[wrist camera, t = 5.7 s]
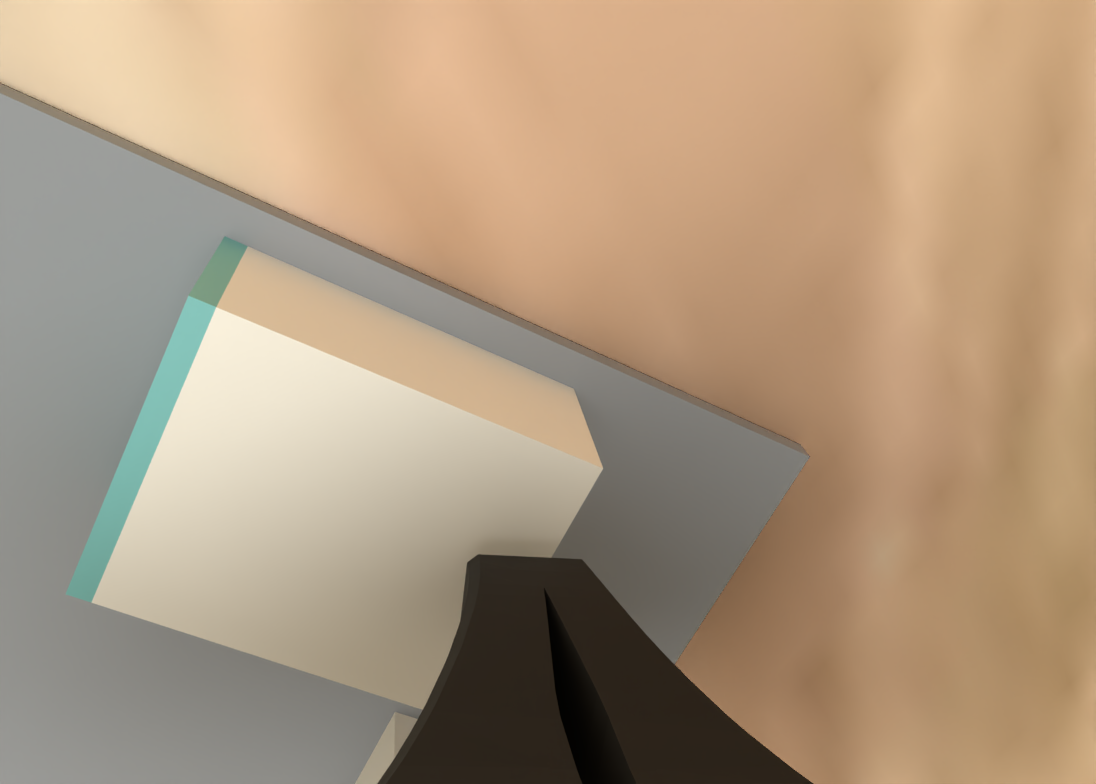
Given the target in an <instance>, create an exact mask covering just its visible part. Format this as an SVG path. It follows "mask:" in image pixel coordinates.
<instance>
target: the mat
mask: <svg viewBox="0 0 1096 784" xmlns="http://www.w3.org/2000/svg"><path fill="white" fill-rule="evenodd" d="M224 237H228V238H230V239H232V240H235V241H237V242H239V243H241V244H244V245H246V246H248V247H251V248H253V249H255V250H257V251H260V252H262V253H264V254H267V255H269V256H271V257H273V258H276V259H278V260H280V261H283V262H285V263H287V264H290V265H292V266H294V267H296V268H299V269H301V270H303V271H306V272H308V273H310V274H312V275H315V276H317V277H319V278H322V279H324V280H326V281H328V282H331V283H333V284H335V285H338V286H340V287H342V288H344V289H347V290H349V291H351V292H354V293H356V294H358V295H360V296H363V297H365V298H367V299H370V300H372V301H374V302H376V303H379V304H381V305H383V306H386V307H388V308H390V309H392V310H395V311H397V312H399V313H402V314H404V315H406V316H408V317H411V318H413V319H415V320H418V321H420V322H422V323H424V324H427V325H429V326H431V327H434V328H436V329H438V330H440V331H443V332H445V333H447V334H450V335H452V336H454V337H456V338H459V339H461V340H463V341H466V342H468V343H470V344H472V345H475V346H477V347H479V348H482V349H484V350H486V351H488V352H491V353H493V354H495V355H498V356H500V357H502V358H504V359H507V360H509V361H511V362H514V363H516V364H518V365H520V366H523V367H525V368H527V369H530V370H532V371H534V372H536V373H539V374H541V375H543V376H546V377H548V378H550V379H552V380H555V381H557V382H559V383H562V384H564V385H566V386H568V387H571V388H573V389H574V391H575V394H576V396H577V399H578V402H579V404H580V407H581V410H582V412H583V415H584V418H585V421H586V423H587V426H588V429H589V431H590V434H591V437H592V440H593V442H594V445H595V448H596V450H597V453H598V456H599V458H600V461H601V464H602V467H603V470H602V471H601V473H600V475H599V476H598V478H597V480H596V482H595V483H594V485H593V487H592V489H591V490H590V492H589V494H588V495H587V497H586V499H585V501H584V502H583V504H582V506H581V507H580V509H579V511H578V513H577V514H576V516H575V518H574V519H573V521H572V523H571V525H570V526H569V528H568V530H567V531H566V533H565V535H564V537H563V538H562V540H561V542H560V544H559V545H558V547H557V549H556V550H555V552H554V554H553V556H552V557H551V558H570V559H582V560H583V561H584V562H585V563H586V564H587V566H588V567H589V568H590V569H591V570H592V571H593V573H594V574H595V575H596V576H597V577H598V579H599V580H600V581H601V582H602V583H603V584H604V586H605V587H606V588H607V589H608V590H609V592H610V593H611V594H612V595H613V596H614V598H615V599H616V600H617V601H618V602H619V603H620V605H621V606H622V607H623V608H624V609H625V610H626V612H627V613H628V614H629V615H630V616H631V617H632V619H633V620H634V621H635V622H636V623H637V624H638V626H639V627H640V628H641V629H642V630H643V631H644V632H645V634H646V635H647V636H648V637H649V638H650V639H651V640H652V641H653V642H654V643H655V644H656V646H657V647H658V648H659V649H660V650H661V651H662V652H663V653H664V654H665V655H666V656H667V657H668V658H669V659H670V660H671V662H672V663H673V664H674V665H675V663H676V661H677V660H678V658H679V657H680V655H681V654H682V652H683V651H684V649H685V648H686V646H687V645H688V643H689V642H690V640H691V638H692V637H693V635H694V634H695V632H696V631H697V629H698V628H699V626H700V625H701V623H702V622H703V620H704V618H705V617H706V615H707V614H708V612H709V611H710V609H711V608H712V606H713V605H714V603H715V602H716V600H717V599H718V597H719V595H720V594H721V592H722V591H723V589H724V588H725V586H726V585H727V583H728V582H729V580H730V579H731V577H732V576H733V574H734V572H735V571H736V569H737V568H738V566H739V565H740V563H741V562H742V560H743V559H744V557H745V556H746V554H747V552H748V551H749V549H750V548H751V546H752V545H753V543H754V542H755V540H756V539H757V537H758V536H759V534H760V533H761V531H762V529H763V528H764V526H765V525H766V523H767V522H768V520H769V519H770V517H771V516H772V514H773V513H774V511H775V510H776V508H777V506H778V505H779V503H780V502H781V500H782V499H783V497H784V496H785V494H786V493H787V491H788V490H789V488H790V486H791V485H792V483H793V482H794V480H795V479H796V477H797V476H798V474H799V473H800V471H801V470H802V468H803V467H804V465H805V463H806V462H807V460H808V459H809V457H810V456H809V455H808V454H807V452H806V451H805V450H804V448H803V447H802V446H801V445H800V444H798V443H796V442H793V441H791V440H789V439H787V438H785V437H782V436H780V435H778V434H776V433H773V432H771V431H769V430H767V429H765V428H762V427H760V426H758V425H756V424H754V423H751V422H749V421H747V420H745V419H742V418H740V417H738V416H736V415H734V414H731V413H729V412H727V411H725V410H723V409H720V408H718V407H716V406H714V405H711V404H709V403H707V402H705V401H703V400H700V399H698V398H696V397H694V396H692V395H689V394H687V393H685V392H683V391H680V390H678V389H676V388H674V387H672V386H669V385H667V384H665V383H663V382H661V381H658V380H656V379H654V378H652V377H649V376H647V375H645V374H643V373H641V372H638V371H636V370H634V369H632V368H630V367H627V366H625V365H623V364H621V363H618V362H616V361H614V360H612V359H610V358H607V357H605V356H603V355H601V354H599V353H596V352H594V351H592V350H590V349H587V348H585V347H583V346H581V345H579V344H576V343H574V342H572V341H570V340H568V339H565V338H563V337H561V336H559V335H556V334H554V333H552V332H550V331H548V330H545V329H543V328H541V327H539V326H537V325H534V324H532V323H530V322H528V321H525V320H523V319H521V318H519V317H517V316H514V315H512V314H510V313H508V312H506V311H503V310H501V309H499V308H497V307H494V306H492V305H490V304H488V303H486V302H483V301H481V300H479V299H477V298H475V297H472V296H470V295H468V294H466V293H463V292H461V291H459V290H457V289H455V288H452V287H450V286H448V285H446V284H444V283H441V282H439V281H437V280H435V279H432V278H430V277H428V276H426V275H424V274H421V273H419V272H417V271H415V270H413V269H410V268H408V267H406V266H404V265H401V264H399V263H397V262H395V261H393V260H390V259H388V258H386V257H384V256H381V255H379V254H377V253H375V252H373V251H370V250H368V249H366V248H364V247H362V246H359V245H357V244H355V243H353V242H350V241H348V240H346V239H344V238H342V237H339V236H337V235H335V234H333V233H331V232H328V231H326V230H324V229H322V228H319V227H317V226H315V225H313V224H311V223H308V222H306V221H304V220H302V219H300V218H297V217H295V216H293V215H291V214H288V213H286V212H284V211H282V210H280V209H277V208H275V207H273V206H271V205H269V204H266V203H264V202H262V201H260V200H257V199H255V198H253V197H251V196H249V195H246V194H244V193H242V192H240V191H238V190H235V189H233V188H231V187H229V186H226V185H224V184H222V183H220V182H218V181H215V180H213V179H211V178H209V177H207V176H204V175H202V174H200V173H198V172H195V171H193V170H191V169H189V168H187V167H184V166H182V165H180V164H178V163H176V162H173V161H171V160H169V159H167V158H164V157H162V156H160V155H158V154H156V153H153V152H151V151H149V150H147V149H145V148H142V147H140V146H138V145H136V144H133V143H131V142H129V141H127V140H125V139H122V138H120V137H118V136H116V135H114V134H111V133H109V132H107V131H105V130H102V129H100V128H98V127H96V126H94V125H91V124H89V123H87V122H85V121H83V120H80V119H78V118H76V117H74V116H71V115H69V114H67V113H65V112H63V111H60V110H58V109H56V108H54V107H52V106H49V105H47V104H45V103H43V102H40V101H38V100H36V99H34V98H32V97H29V96H27V95H25V94H23V93H21V92H18V91H16V90H14V89H12V88H9V87H7V86H5V85H3V84H1V83H0V784H355V783H356V781H357V779H358V777H359V776H360V774H361V772H362V770H363V768H364V767H365V765H366V763H367V761H368V759H369V758H370V756H371V754H372V752H373V750H374V749H375V747H376V745H377V743H378V741H379V740H380V738H381V736H382V734H383V732H384V731H385V729H386V727H387V725H388V723H389V722H390V720H391V718H392V716H393V714H394V713H395V712H397V713H400V714H403V715H407V716H410V717H413V718H416V719H418V718H419V716H420V714H421V712H422V709H418V708H415V707H412V706H409V705H406V704H403V703H400V702H397V701H394V700H391V699H388V698H384V697H381V696H378V695H375V694H372V693H369V692H366V691H363V690H360V689H357V688H354V687H350V686H347V685H344V684H341V683H338V682H335V681H332V680H329V679H326V678H323V677H320V676H316V675H313V674H310V673H307V672H304V671H301V670H298V669H295V668H292V667H289V666H286V665H282V664H279V663H276V662H273V661H270V660H267V659H264V658H261V657H258V656H255V655H252V654H248V653H245V652H242V651H239V650H236V649H233V648H230V647H227V646H224V645H221V644H218V643H214V642H211V641H208V640H205V639H202V638H199V637H196V636H193V635H190V634H187V633H184V632H180V631H177V630H174V629H171V628H168V627H165V626H162V625H159V624H156V623H153V622H150V621H146V620H143V619H140V618H137V617H134V616H131V615H128V614H125V613H122V612H119V611H116V610H112V609H109V608H106V607H103V606H100V605H97V604H94V603H91V602H88V601H85V600H82V599H78V598H75V597H72V596H69V595H66V592H67V589H68V587H69V584H70V582H71V579H72V577H73V575H74V572H75V570H76V567H77V565H78V562H79V560H80V558H81V555H82V553H83V550H84V548H85V545H86V543H87V541H88V538H89V536H90V533H91V531H92V528H93V526H94V524H95V521H96V519H97V516H98V514H99V511H100V509H101V507H102V504H103V502H104V499H105V497H106V494H107V492H108V490H109V487H110V485H111V482H112V480H113V477H114V475H115V473H116V470H117V468H118V465H119V463H120V460H121V458H122V456H123V453H124V451H125V448H126V446H127V443H128V441H129V439H130V436H131V434H132V431H133V429H134V426H135V424H136V422H137V419H138V417H139V414H140V412H141V409H142V407H143V405H144V402H145V400H146V397H147V395H148V392H149V390H150V388H151V385H152V383H153V380H154V378H155V375H156V373H157V371H158V368H159V366H160V363H161V361H162V358H163V356H164V354H165V351H166V349H167V346H168V344H169V341H170V339H171V337H172V334H173V332H174V329H175V327H176V324H177V322H178V320H179V317H180V315H181V312H182V310H183V307H184V305H185V303H186V300H187V298H188V295H189V294H190V292H191V290H192V289H193V287H194V286H195V284H196V282H197V281H198V279H199V277H200V276H201V274H202V273H203V271H204V269H205V268H206V266H207V264H208V263H209V261H210V259H211V258H212V256H213V255H214V253H215V251H216V250H217V248H218V246H219V245H220V243H221V242H222V240H223V238H224Z"/></svg>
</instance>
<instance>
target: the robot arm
mask: <svg viewBox="0 0 1096 784" xmlns="http://www.w3.org/2000/svg"><path fill="white" fill-rule="evenodd" d="M377 784H813V783H812V782H810V781H809V780H808V779H806V778H805V777H803V776H802V775H801V774H799V773H798V772H797V771H795V770H794V769H792V768H791V767H790V766H789V765H787V764H786V763H785V762H783V761H782V760H781V759H780V758H778V757H777V756H776V755H775V754H773V753H772V752H771V751H770V750H768V749H767V748H766V747H765V746H763V745H762V744H761V743H760V742H758V741H757V740H756V739H755V738H753V737H752V736H751V735H750V734H748V733H747V732H746V731H745V730H744V729H742V728H741V727H740V726H739V725H738V724H737V723H735V722H734V721H733V720H732V719H731V718H730V717H729V716H727V715H726V714H725V713H724V712H723V711H722V710H721V709H720V708H719V707H718V706H717V705H716V704H715V703H713V702H712V701H711V700H710V699H709V698H708V697H707V696H706V695H705V694H704V693H703V692H702V691H701V690H700V689H699V688H698V687H697V686H695V685H694V684H693V683H692V682H691V681H690V680H689V679H688V678H687V677H686V676H685V675H684V674H683V673H682V672H681V671H680V670H679V669H678V668H677V667H676V666H675V665H674V664H673V663H672V662H671V660H670V659H669V658H668V657H667V656H666V655H665V654H664V653H663V652H662V651H661V650H660V649H659V648H658V647H657V646H656V644H655V643H654V642H653V641H652V640H651V639H650V638H649V637H648V636H647V635H646V634H645V632H644V631H643V630H642V629H641V628H640V627H639V626H638V624H637V623H636V622H635V621H634V620H633V619H632V617H631V616H630V615H629V614H628V613H627V612H626V610H625V609H624V608H623V607H622V606H621V605H620V603H619V602H618V601H617V600H616V599H615V598H614V596H613V595H612V594H611V593H610V592H609V590H608V589H607V588H606V587H605V586H604V584H603V583H602V582H601V581H600V580H599V579H598V577H597V576H596V575H595V574H594V573H593V571H592V570H591V569H590V568H589V567H588V566H587V564H586V563H585V562H584V561H583V560H582V559H570V558H548V557H526V556H505V555H483V554H478V555H476V556H475V557H474V558H472V559H471V560H470V561H468V562H467V567H466V576H465V585H464V593H463V602H462V611H461V619H460V623H459V626H458V629H457V632H456V635H455V638H454V640H453V643H452V646H451V649H450V652H449V655H448V657H447V659H446V662H445V664H444V666H443V669H442V671H441V673H440V675H439V677H438V679H437V681H436V683H435V686H434V688H433V690H432V692H431V694H430V696H429V698H428V700H427V703H426V705H425V706H424V708H423V710H422V712H421V714H420V716H419V718H418V719H417V721H416V723H415V725H414V727H413V728H412V730H411V732H410V734H409V735H408V737H407V739H406V740H405V742H404V744H403V745H402V747H401V748H400V750H399V752H398V753H397V755H396V757H395V758H394V760H393V761H392V763H391V764H390V766H389V767H388V769H387V770H386V772H385V773H384V774H383V776H382V777H381V779H380V780H379V782H378V783H377Z"/></svg>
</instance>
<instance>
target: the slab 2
mask: <svg viewBox="0 0 1096 784" xmlns="http://www.w3.org/2000/svg"><path fill="white" fill-rule="evenodd" d="M416 721H417V719H416V718H413V717H410V716H407V715H403V714H400V713H397V712H395V713H394V714H393V716H392V718H391V720H390V722H389V723H388V725H387V727H386V729H385V731H384V732H383V734H382V736H381V738H380V740H379V741H378V743H377V745H376V747H375V749H374V750H373V752H372V754H371V756H370V758H369V759H368V761H367V763H366V765H365V767H364V768H363V770H362V772H361V774H360V776H359V777H358V779H357V781H356V783H355V784H377V783H378V782H379V780H380V779H381V777H382V776H383V774H384V773H385V772H386V770H387V769H388V767H389V766H390V764H391V763H392V761H393V760H394V758H395V757H396V755H397V753H398V752H399V750H400V748H401V747H402V745H403V744H404V742H405V740H406V739H407V737H408V735H409V734H410V732H411V730H412V728H413V727H414V725H415V723H416Z"/></svg>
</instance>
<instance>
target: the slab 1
mask: <svg viewBox="0 0 1096 784" xmlns="http://www.w3.org/2000/svg"><path fill="white" fill-rule="evenodd" d="M602 470H603V467H602V464H601V461H600V458H599V456H598V453H597V450H596V448H595V445H594V442H593V440H592V437H591V434H590V431H589V429H588V426H587V423H586V421H585V418H584V415H583V412H582V410H581V407H580V404H579V402H578V399H577V396H576V394H575V391H574V389H573V388H571V387H568V386H566V385H564V384H562V383H559V382H557V381H555V380H552V379H550V378H548V377H546V376H543V375H541V374H539V373H536V372H534V371H532V370H530V369H527V368H525V367H523V366H520V365H518V364H516V363H514V362H511V361H509V360H507V359H504V358H502V357H500V356H498V355H495V354H493V353H491V352H488V351H486V350H484V349H482V348H479V347H477V346H475V345H472V344H470V343H468V342H466V341H463V340H461V339H459V338H456V337H454V336H452V335H450V334H447V333H445V332H443V331H440V330H438V329H436V328H434V327H431V326H429V325H427V324H424V323H422V322H420V321H418V320H415V319H413V318H411V317H408V316H406V315H404V314H402V313H399V312H397V311H395V310H392V309H390V308H388V307H386V306H383V305H381V304H379V303H376V302H374V301H372V300H370V299H367V298H365V297H363V296H360V295H358V294H356V293H354V292H351V291H349V290H347V289H344V288H342V287H340V286H338V285H335V284H333V283H331V282H328V281H326V280H324V279H322V278H319V277H317V276H315V275H312V274H310V273H308V272H306V271H303V270H301V269H299V268H296V267H294V266H292V265H290V264H287V263H285V262H283V261H280V260H278V259H276V258H273V257H271V256H269V255H267V254H264V253H262V252H260V251H257V250H255V249H253V248H251V247H248V246H246V245H244V244H241V243H239V242H237V241H235V240H232V239H230V238H228V237H224V238H223V240H222V242H221V243H220V245H219V246H218V248H217V250H216V251H215V253H214V255H213V256H212V258H211V259H210V261H209V263H208V264H207V266H206V268H205V269H204V271H203V273H202V274H201V276H200V277H199V279H198V281H197V282H196V284H195V286H194V287H193V289H192V290H191V292H190V294H189V295H188V298H187V300H186V303H185V305H184V307H183V310H182V312H181V315H180V317H179V320H178V322H177V324H176V327H175V329H174V332H173V334H172V337H171V339H170V341H169V344H168V346H167V349H166V351H165V354H164V356H163V358H162V361H161V363H160V366H159V368H158V371H157V373H156V375H155V378H154V380H153V383H152V385H151V388H150V390H149V392H148V395H147V397H146V400H145V402H144V405H143V407H142V409H141V412H140V414H139V417H138V419H137V422H136V424H135V426H134V429H133V431H132V434H131V436H130V439H129V441H128V443H127V446H126V448H125V451H124V453H123V456H122V458H121V460H120V463H119V465H118V468H117V470H116V473H115V475H114V477H113V480H112V482H111V485H110V487H109V490H108V492H107V494H106V497H105V499H104V502H103V504H102V507H101V509H100V511H99V514H98V516H97V519H96V521H95V524H94V526H93V528H92V531H91V533H90V536H89V538H88V541H87V543H86V545H85V548H84V550H83V553H82V555H81V558H80V560H79V562H78V565H77V567H76V570H75V572H74V575H73V577H72V579H71V582H70V584H69V587H68V589H67V592H66V595H69V596H72V597H75V598H78V599H82V600H85V601H88V602H91V603H94V604H97V605H100V606H103V607H106V608H109V609H112V610H116V611H119V612H122V613H125V614H128V615H131V616H134V617H137V618H140V619H143V620H146V621H150V622H153V623H156V624H159V625H162V626H165V627H168V628H171V629H174V630H177V631H180V632H184V633H187V634H190V635H193V636H196V637H199V638H202V639H205V640H208V641H211V642H214V643H218V644H221V645H224V646H227V647H230V648H233V649H236V650H239V651H242V652H245V653H248V654H252V655H255V656H258V657H261V658H264V659H267V660H270V661H273V662H276V663H279V664H282V665H286V666H289V667H292V668H295V669H298V670H301V671H304V672H307V673H310V674H313V675H316V676H320V677H323V678H326V679H329V680H332V681H335V682H338V683H341V684H344V685H347V686H350V687H354V688H357V689H360V690H363V691H366V692H369V693H372V694H375V695H378V696H381V697H384V698H388V699H391V700H394V701H397V702H400V703H403V704H406V705H409V706H412V707H415V708H418V709H422V710H423V708H424V706H425V705H426V703H427V700H428V698H429V696H430V694H431V692H432V690H433V688H434V686H435V683H436V681H437V679H438V677H439V675H440V673H441V671H442V669H443V666H444V664H445V662H446V659H447V657H448V655H449V652H450V649H451V646H452V643H453V640H454V638H455V635H456V632H457V629H458V626H459V623H460V619H461V611H462V602H463V593H464V585H465V576H466V567H467V562H468V561H470V560H471V559H472V558H474V557H475V556H476V555H478V554H483V555H505V556H526V557H548V558H551V557H552V556H553V554H554V552H555V550H556V549H557V547H558V545H559V544H560V542H561V540H562V538H563V537H564V535H565V533H566V531H567V530H568V528H569V526H570V525H571V523H572V521H573V519H574V518H575V516H576V514H577V513H578V511H579V509H580V507H581V506H582V504H583V502H584V501H585V499H586V497H587V495H588V494H589V492H590V490H591V489H592V487H593V485H594V483H595V482H596V480H597V478H598V476H599V475H600V473H601V471H602Z"/></svg>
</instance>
